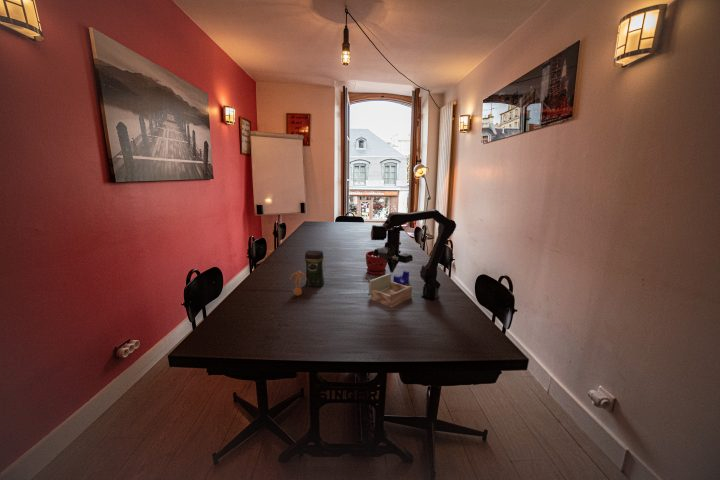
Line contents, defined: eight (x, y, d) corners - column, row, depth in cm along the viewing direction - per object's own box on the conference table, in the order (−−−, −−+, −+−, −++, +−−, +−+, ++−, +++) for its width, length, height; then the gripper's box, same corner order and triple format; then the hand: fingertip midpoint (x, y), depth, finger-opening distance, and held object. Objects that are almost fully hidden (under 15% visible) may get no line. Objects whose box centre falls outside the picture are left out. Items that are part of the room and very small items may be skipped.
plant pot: (361, 270, 181) (362, 251, 179) (380, 268, 187) (381, 249, 184) (371, 277, 170) (372, 257, 167) (391, 274, 175) (392, 255, 173)
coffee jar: (325, 282, 160) (325, 249, 156) (322, 287, 153) (321, 253, 149) (307, 281, 161) (307, 248, 157) (303, 286, 154) (302, 252, 150)
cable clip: (401, 280, 167) (402, 270, 166) (408, 281, 165) (409, 271, 163) (390, 286, 158) (391, 275, 156) (398, 288, 155) (398, 277, 154)
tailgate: (390, 287, 151) (391, 273, 150) (370, 296, 140) (371, 281, 138) (388, 286, 152) (388, 272, 151) (367, 295, 141) (368, 280, 139)
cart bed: (411, 297, 143) (412, 286, 142) (391, 307, 132) (392, 295, 131) (390, 290, 151) (391, 279, 150) (370, 299, 140) (371, 287, 139)
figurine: (288, 296, 141) (287, 272, 138) (291, 291, 147) (290, 268, 144) (305, 297, 141) (305, 273, 138) (307, 292, 147) (307, 269, 144)
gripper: (366, 239, 136) (365, 271, 140) (399, 246, 124) (397, 281, 127) (381, 236, 144) (380, 266, 148) (414, 242, 132) (412, 275, 135)
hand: (391, 272), depth 139 cm, fingers closed
